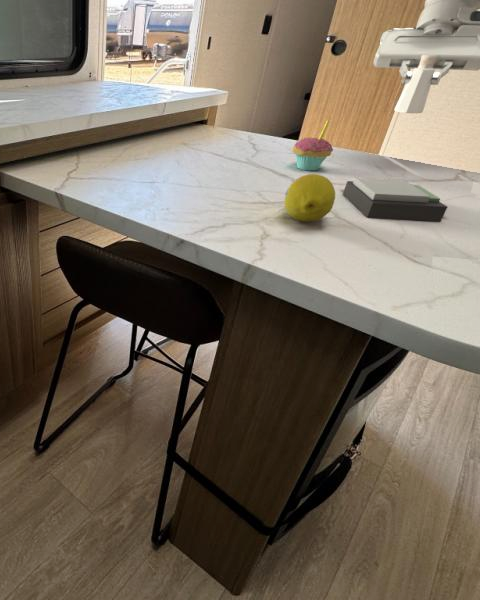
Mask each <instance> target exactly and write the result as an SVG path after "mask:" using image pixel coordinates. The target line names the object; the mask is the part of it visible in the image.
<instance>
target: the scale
mask: <svg viewBox="0 0 480 600" xmlns="http://www.w3.org/2000/svg"><path fill="white" fill-rule="evenodd" d="M353 178H354V179H353V180H347V181H346V184H345V187H344V189H343V192H342V195H343V196H344V197H345V198H346V199H347V200H348V201H349V202H350V203H351V204H352V205H353V206H354V207H355V208H356V209H358V211H360V212H361V213H362V214H363V215H364V216H365V217H366V218H369V219H386V220H387V219H388V220H389V219H390V220H401V221H402V220H403V221H421V222H422V221H423V222H439V223H440V222H442V219H443V218H444V215H445V214H446V212H447V210H448V206H447V205H446V204H444V203H442V202H441V198H440V197H439V196H437V195H435V194H434V193H432V192H431V191H429V190H427V189H426V188H424V187H422V186H421V185H419V184H413V183H410V182H409V181H407V180H405V179H397V178H378V177H377V178H375V177H353Z"/></svg>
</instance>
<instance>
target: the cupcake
mask: <svg viewBox="0 0 480 600" xmlns="http://www.w3.org/2000/svg"><path fill="white" fill-rule="evenodd" d="M331 118H332V117H331V116H330V117H329V118H328V119H327V120H326V122H325V124H324V126H323V128H322V131H321V133H320V135H319V137H304V138H301V139H300V140H298V141H296V142H295V144H294V146H293V148H292V149H291V151H292V153H294V154H295V158H296V168H298V170H302V171H308V172H309V171H311V172H313V171H317V170H319V168H320V167H321V165H322V164H323V162H324V161H325V160H326V158H328V157H330V156H331V155H332V152H333V151H334V148H333V146H332V144H331V143H330V142H329V141H328V140H325V139H324V138H323V137H324V135H325V133H326V130H327V129H328V127H329V124H330V123H331Z"/></svg>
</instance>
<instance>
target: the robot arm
mask: <svg viewBox="0 0 480 600" xmlns="http://www.w3.org/2000/svg"><path fill="white" fill-rule="evenodd" d="M423 6H424V8H423V9H422V11H421V13H420V14H419V16H418V20H417V22H416V25H415V27H402V28H401V27H391V29H388V30H385V31H384V32H383V33H382V34H381V36H380V38H379V41H378V42H379V46H378V48H377V51H376V52H375V55H374V58H373V61H372V64H373V66H374V67H375V68H377V69H379V68H380V69H399V71H398V72H399V74H400V76H401V78H402V79H401V80H400V84H407V83H409V81H410V78H411V75H412V73H413V71H409V69H411V70H414V69H415V68H418V67H419V64H420V61H421V57H422V56H423V55H437V56H438V57H437V59H436V60H435V64H434V65H433V69H435V70H439V71H438V72H434V74H433V77H432V79H431V86H432V85H433V86H438V85H439V83H440V81H441V79H443V78H444V77H445V76H446V75H447V74H448V73H449V72H450V71H473V72H474V71H476V72H477V71H479V70H480V0H424V5H423Z"/></svg>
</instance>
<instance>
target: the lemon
mask: <svg viewBox="0 0 480 600" xmlns="http://www.w3.org/2000/svg"><path fill="white" fill-rule="evenodd" d="M335 200H336V190H335V187H334V184H333V183H332V181H331V180H330V179H329V178H328V177H325V176H324V175H321V174H317V173H309V174H305V175H301V176H299V177H298V178H296V180H294V181H293V182H292V183H291V184H290V185H289V186H288V188H287V189H286V191H285V193H284V209H285V211H286V212H287V214H288V216H289V217H291V218H293V219H294V220H297V221H299V222H304V223H305V222H306V223H307V222H316V221H319V220H321V219H322V218H325V217H326V216H327V215H328V214H329V213H330V212H331V210H332V209H333V206H334V204H335Z"/></svg>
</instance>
